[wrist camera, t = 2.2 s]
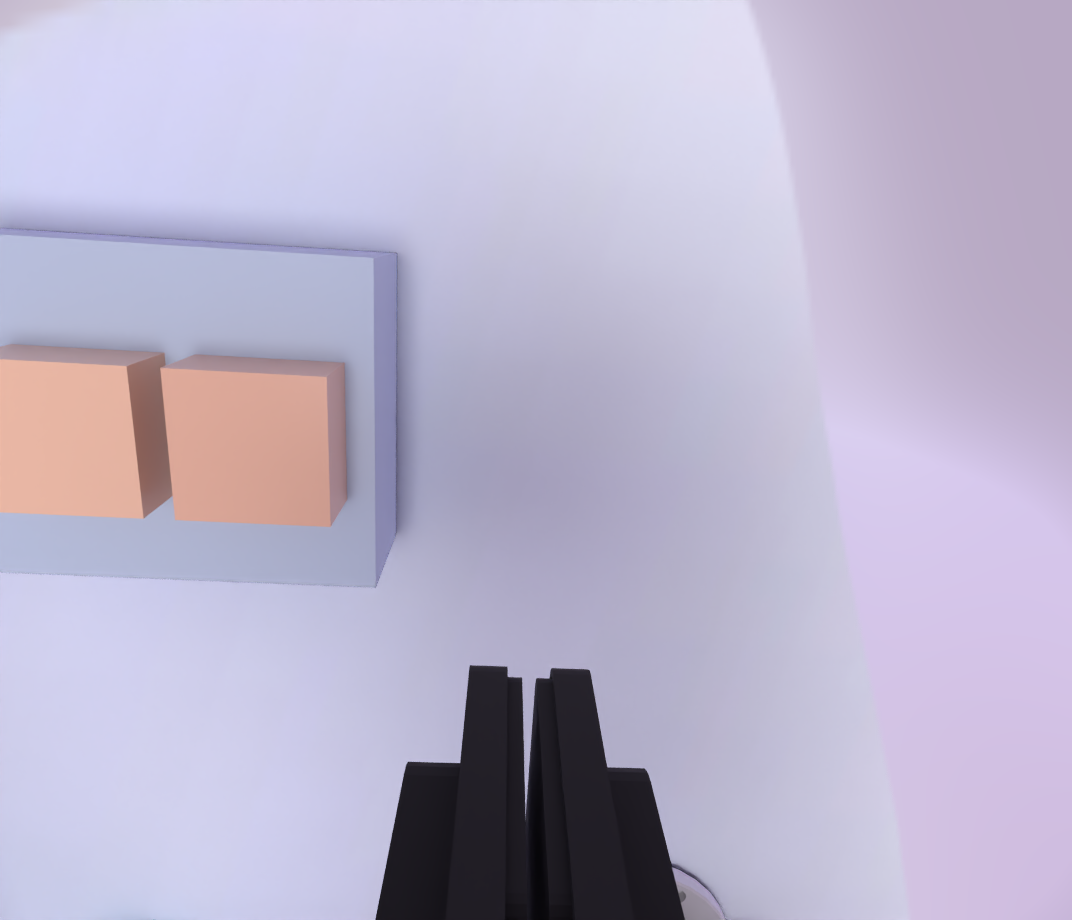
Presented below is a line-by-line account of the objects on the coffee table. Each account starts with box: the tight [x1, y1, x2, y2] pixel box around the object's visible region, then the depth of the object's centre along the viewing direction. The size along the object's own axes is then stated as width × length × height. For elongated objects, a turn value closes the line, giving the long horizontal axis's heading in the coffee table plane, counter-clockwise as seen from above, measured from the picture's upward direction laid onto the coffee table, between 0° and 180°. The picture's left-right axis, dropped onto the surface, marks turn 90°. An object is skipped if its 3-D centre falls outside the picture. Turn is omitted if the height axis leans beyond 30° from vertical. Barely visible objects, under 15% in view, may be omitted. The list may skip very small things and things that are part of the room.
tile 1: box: [160, 354, 347, 527], centre depth 24 cm, size 5×5×2 cm
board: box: [0, 228, 397, 588], centre depth 27 cm, size 15×12×5 cm
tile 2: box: [0, 344, 173, 519], centre depth 24 cm, size 5×5×2 cm
